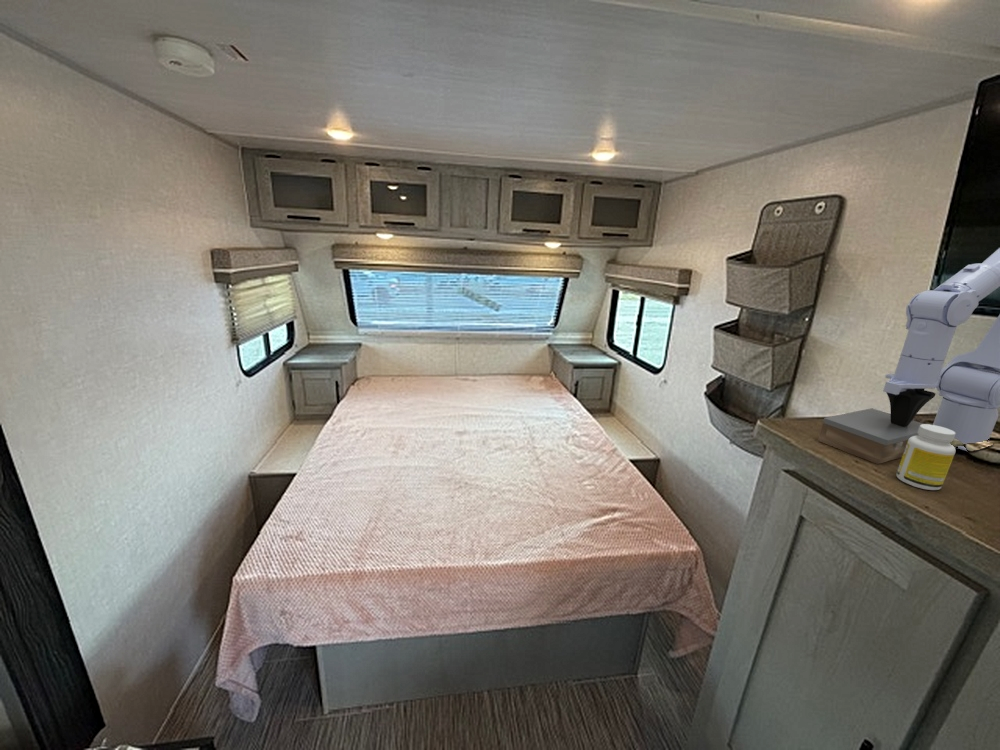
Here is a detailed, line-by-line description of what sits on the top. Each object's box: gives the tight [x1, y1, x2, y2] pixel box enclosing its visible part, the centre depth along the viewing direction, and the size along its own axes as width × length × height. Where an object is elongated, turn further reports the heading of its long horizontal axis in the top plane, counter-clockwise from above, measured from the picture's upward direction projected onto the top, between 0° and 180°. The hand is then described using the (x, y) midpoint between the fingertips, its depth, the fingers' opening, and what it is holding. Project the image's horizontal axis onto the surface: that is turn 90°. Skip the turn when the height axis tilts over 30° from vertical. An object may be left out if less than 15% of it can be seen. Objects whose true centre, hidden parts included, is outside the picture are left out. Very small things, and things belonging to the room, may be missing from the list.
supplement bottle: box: [895, 423, 956, 491], centre depth 65 cm, size 5×5×10 cm
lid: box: [822, 408, 924, 445], centre depth 78 cm, size 16×10×1 cm, turn 112°
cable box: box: [817, 422, 908, 465], centre depth 79 cm, size 16×10×4 cm, turn 112°
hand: (899, 424), depth 77 cm, fingers closed, pressing on lid
